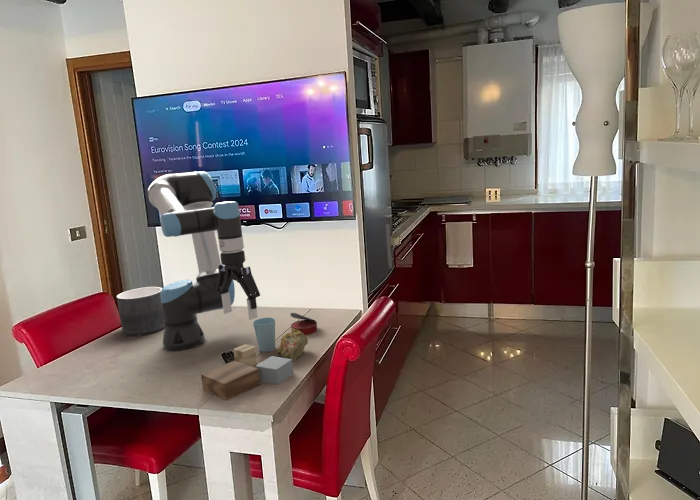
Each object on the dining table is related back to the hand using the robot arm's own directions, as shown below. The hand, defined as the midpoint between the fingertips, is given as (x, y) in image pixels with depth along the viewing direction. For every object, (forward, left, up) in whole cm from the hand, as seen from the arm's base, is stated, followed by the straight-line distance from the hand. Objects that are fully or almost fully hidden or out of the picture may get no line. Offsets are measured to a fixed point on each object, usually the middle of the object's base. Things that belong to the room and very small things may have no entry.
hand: (240, 315), depth 172 cm
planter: (-70, +1, -17) cm, 72 cm away
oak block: (0, 0, -17) cm, 17 cm away
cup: (-5, +13, -17) cm, 22 cm away
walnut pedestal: (+10, -13, -17) cm, 24 cm away
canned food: (-7, +33, -17) cm, 38 cm away
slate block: (+16, -1, -17) cm, 23 cm away
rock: (+7, +13, -17) cm, 23 cm away
